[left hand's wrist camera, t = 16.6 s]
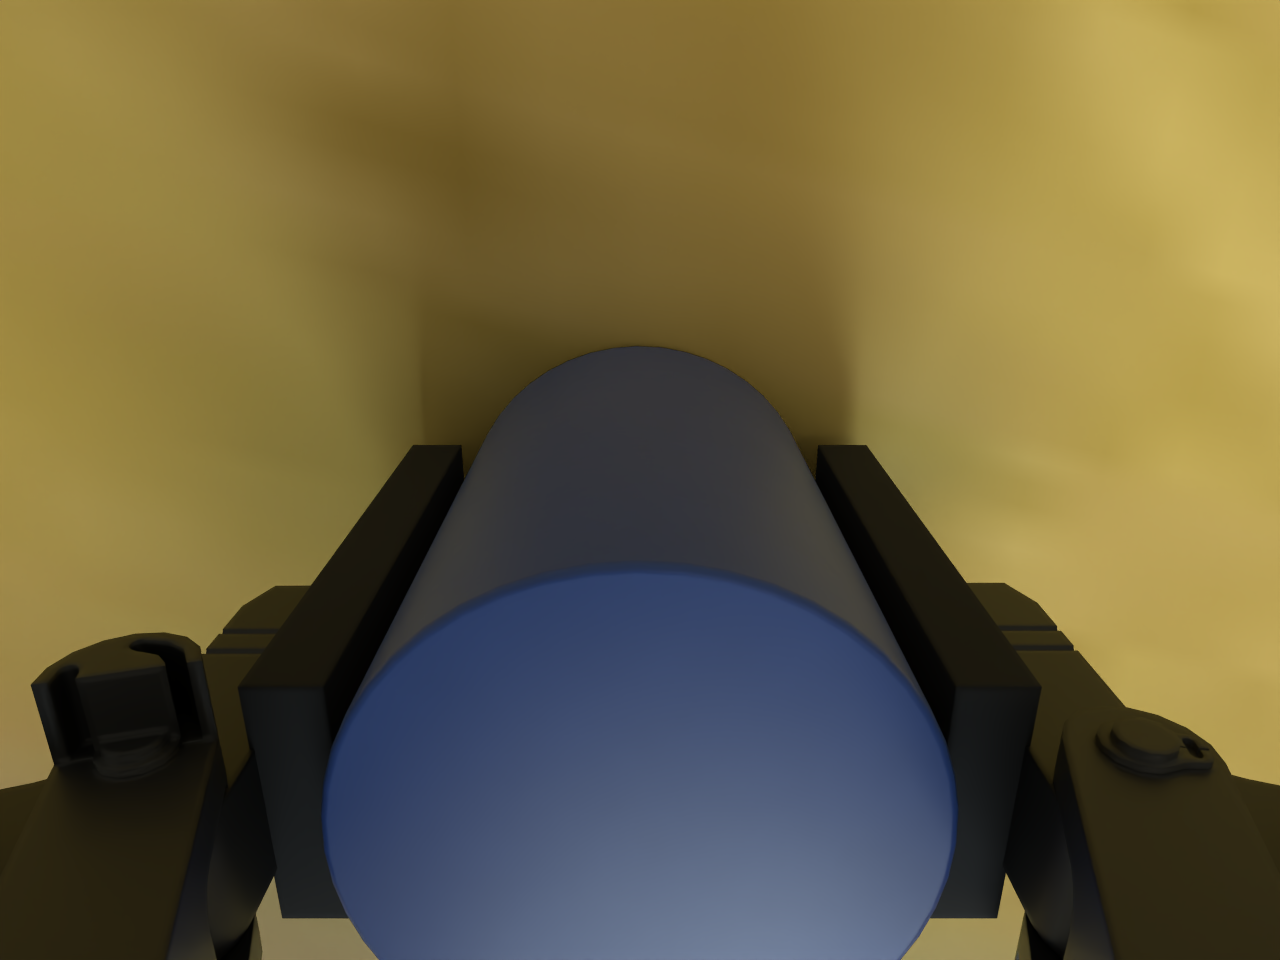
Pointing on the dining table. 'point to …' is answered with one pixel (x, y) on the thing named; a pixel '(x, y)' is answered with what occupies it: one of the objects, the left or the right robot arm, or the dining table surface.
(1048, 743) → the left robot arm
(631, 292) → the dining table surface
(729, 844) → the can
